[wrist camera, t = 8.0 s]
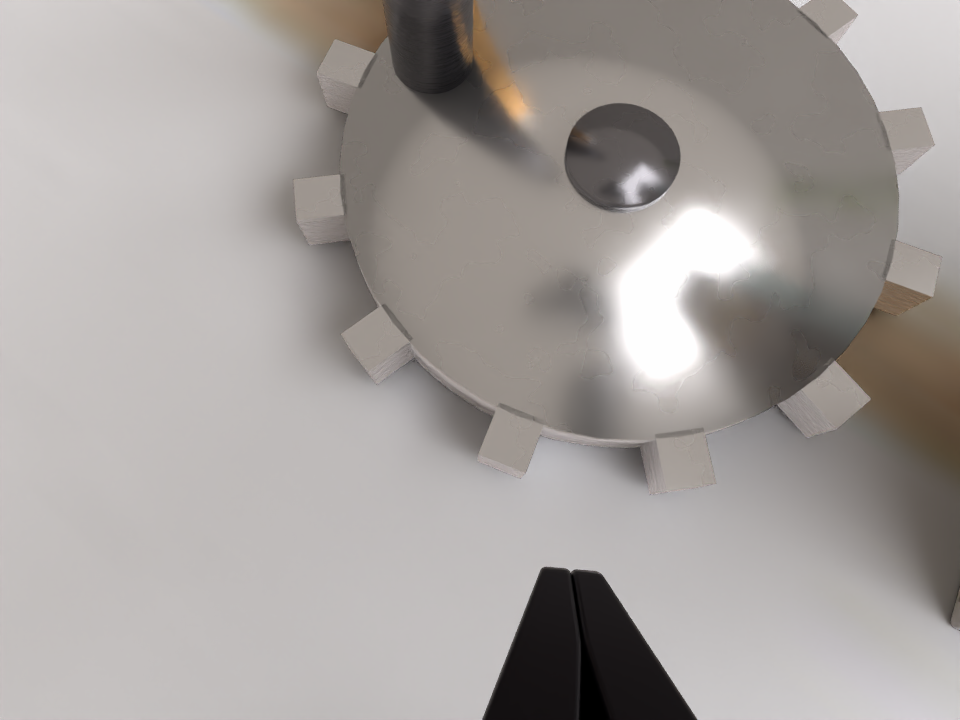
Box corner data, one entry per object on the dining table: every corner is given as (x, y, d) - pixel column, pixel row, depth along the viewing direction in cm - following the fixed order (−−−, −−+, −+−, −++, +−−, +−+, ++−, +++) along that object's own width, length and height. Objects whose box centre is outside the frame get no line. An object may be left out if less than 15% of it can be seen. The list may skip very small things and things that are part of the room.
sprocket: (572, 642, 21) (722, 788, 9) (190, 140, 26) (-69, -234, 13) (1032, 240, 26) (1581, -49, 13) (633, -134, 30) (754, -617, 17)
